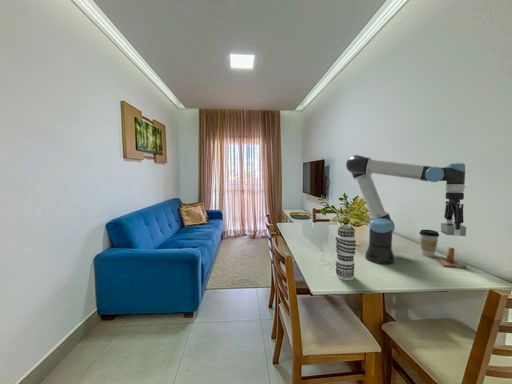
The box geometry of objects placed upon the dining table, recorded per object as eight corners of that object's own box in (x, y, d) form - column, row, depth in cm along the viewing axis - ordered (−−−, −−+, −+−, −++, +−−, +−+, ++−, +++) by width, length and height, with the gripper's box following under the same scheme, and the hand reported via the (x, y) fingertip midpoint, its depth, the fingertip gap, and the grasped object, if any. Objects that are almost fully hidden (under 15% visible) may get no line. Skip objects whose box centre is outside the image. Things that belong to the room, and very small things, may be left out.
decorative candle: (331, 276, 113) (332, 226, 111) (339, 270, 120) (341, 223, 118) (349, 282, 107) (351, 229, 105) (357, 276, 113) (359, 226, 111)
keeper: (443, 266, 125) (444, 250, 124) (435, 259, 135) (436, 244, 134) (465, 268, 122) (467, 252, 121) (456, 261, 132) (457, 246, 131)
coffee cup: (441, 258, 137) (443, 233, 136) (422, 257, 139) (424, 232, 138) (432, 252, 146) (433, 229, 145) (415, 251, 148) (416, 228, 147)
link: (447, 235, 124) (447, 225, 123) (440, 231, 131) (441, 223, 131) (465, 236, 121) (466, 226, 121) (458, 232, 129) (458, 223, 128)
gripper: (474, 193, 114) (471, 238, 115) (453, 190, 133) (451, 229, 135) (455, 193, 116) (453, 237, 118) (438, 190, 136) (436, 228, 137)
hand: (452, 233), depth 126 cm, fingers closed on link, 8 cm apart
